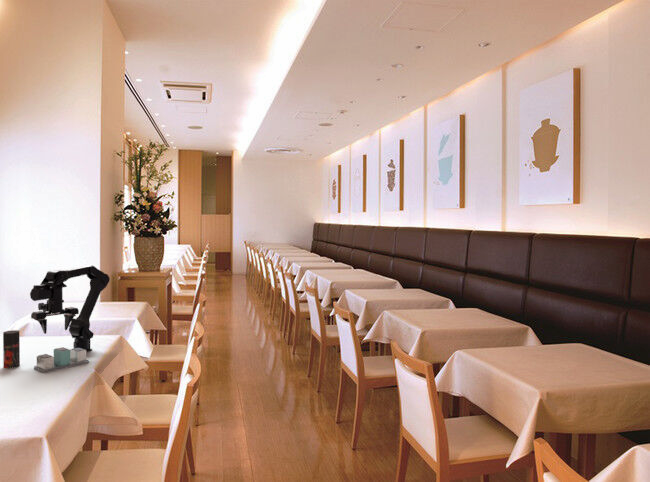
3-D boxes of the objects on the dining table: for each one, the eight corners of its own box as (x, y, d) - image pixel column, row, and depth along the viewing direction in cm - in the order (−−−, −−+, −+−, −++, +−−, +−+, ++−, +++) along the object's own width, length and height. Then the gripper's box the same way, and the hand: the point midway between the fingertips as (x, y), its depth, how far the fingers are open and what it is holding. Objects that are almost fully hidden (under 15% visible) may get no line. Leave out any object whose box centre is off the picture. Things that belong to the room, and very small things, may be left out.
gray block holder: (78, 359, 227) (78, 346, 227) (88, 362, 222) (88, 349, 221) (34, 368, 211) (34, 355, 211) (44, 372, 206) (44, 358, 206)
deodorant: (23, 365, 216) (22, 331, 215) (10, 369, 210) (10, 333, 210) (12, 363, 218) (12, 329, 217) (0, 367, 212) (-1, 332, 212)
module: (63, 360, 220) (62, 346, 220) (70, 363, 216) (70, 349, 216) (53, 362, 217) (53, 348, 217) (61, 365, 213) (61, 351, 213)
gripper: (67, 293, 239) (67, 326, 240) (25, 298, 224) (25, 332, 225) (79, 296, 233) (79, 329, 233) (36, 301, 217) (37, 336, 218)
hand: (55, 331), depth 227 cm, fingers open, 9 cm apart
